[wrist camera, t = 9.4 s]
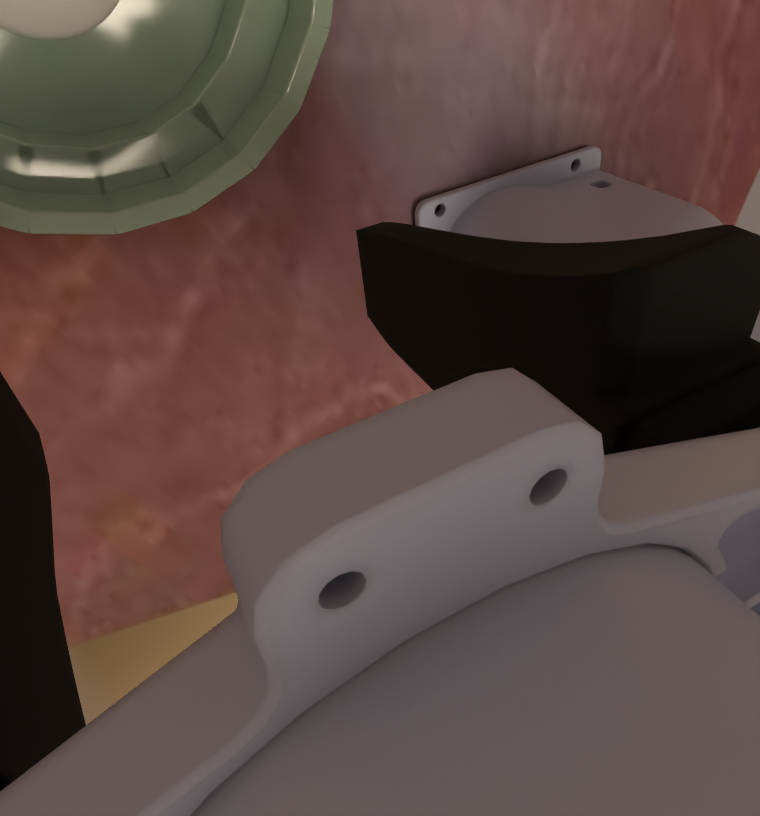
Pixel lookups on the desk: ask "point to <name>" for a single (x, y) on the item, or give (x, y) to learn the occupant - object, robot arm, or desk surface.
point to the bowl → (149, 109)
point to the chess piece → (53, 17)
